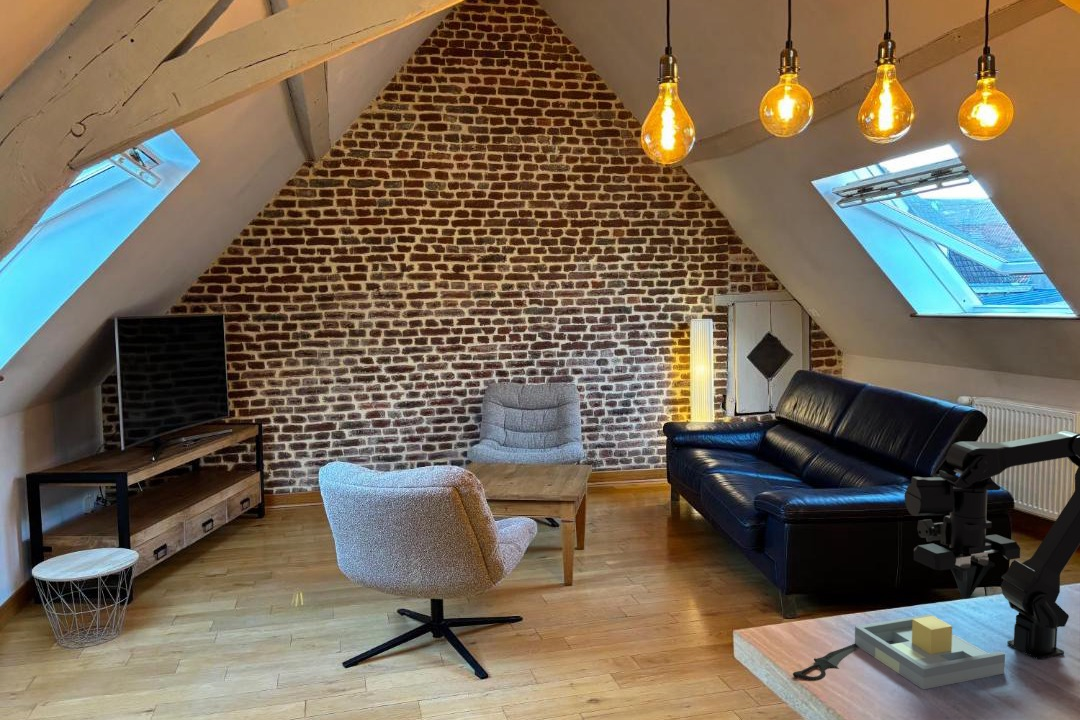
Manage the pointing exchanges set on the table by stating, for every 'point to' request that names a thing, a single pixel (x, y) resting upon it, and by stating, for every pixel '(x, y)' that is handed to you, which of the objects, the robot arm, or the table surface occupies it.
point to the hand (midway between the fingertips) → (965, 597)
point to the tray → (926, 655)
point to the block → (931, 634)
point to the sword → (827, 662)
